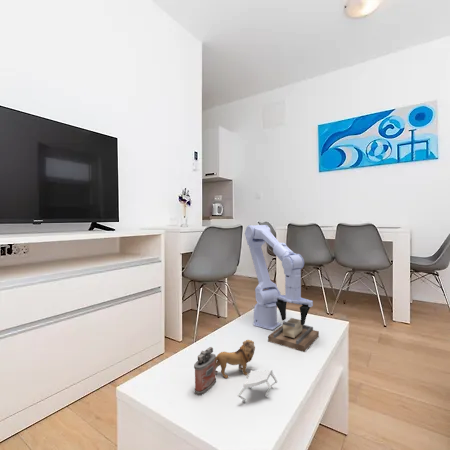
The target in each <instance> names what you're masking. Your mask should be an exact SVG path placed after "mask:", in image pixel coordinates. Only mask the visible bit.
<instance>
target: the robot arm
mask: <svg viewBox="0 0 450 450" xmlns="http://www.w3.org/2000/svg"><path fill="white" fill-rule="evenodd" d="M244 236H245V240H246V243H247V246H248V248H249V252H250V255H251V259H252V264H253V266H254V270H255V274H256V278H257V281H258V282H257V283H258V284H257V285H256V287H255V289H254V292H255V300H256V303H255V305H254V308H253V324H252V325H253V326H255V327H259V328H263V329H267V330H270V331H273V330H274V331H275V329H276V328H277V327H278V328H279V326H281V325H282V323H281V322H278V311H279V314H280V318H281V321H282V322H283V321H285V320H286V319H287V305H288V303H291V304H295V305H300V307H299V312H300V320H301V325H306V324H305V323H306V319H307V315H308V313H309V312H310V309H311V308H313V306H314V300H310V299H307V298H304V297H302V269H303V268H304V266H305V260H304V257H303V256H302V255H301V254H300V253H295V252H294V251H293V250H291V249H290V248H289V246H288V245H287V244H286V243H285V242H280V241H279V240H278V239H277V238H276V237H275V236H274V234H273V233H272V230H271V227H269V225H268V224H258V225H257V224H249V225H246V228H245V232H244ZM265 243H267V245H268V246H270V247H271V248H272V252H273V254H274V255H275V256H276V257H277V259H279V261H281V267H282V268H283V274H284V275H285V276H284V278H285V279H284V280H285V282H284V285H285V286H284V287H285V289H284V290H285V293H284V294H281V292H280V289H279V288H278V286H277V283H275V282H273V281H272V280H271V278H270V274H269V269H268V267H267V263H266V260H265V255H264V253H263V250H262V246H263V245H265Z"/></svg>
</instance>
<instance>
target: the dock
mask: <svg viewBox="0 0 450 450" xmlns="http://www.w3.org/2000/svg"><path fill="white" fill-rule="evenodd" d="M318 338H319V330H315V329H314V327H313V326H309V325H307V324H304V325H302V332H301V333H299V334H298V335H297V336H296V337H295V338H292V337H288V336H284V335H283V324H281V325H280V327H279V326H278V328H277V329H276V330H275V329H274V331H272V332H271V333H270V334H269V335H268V336H267V342H270V343H272V344H276V345H279V346H284V347H287V348H290V349H293V350H297V351H300V352H302V353H303V352H304V353H305V352H306V351H307V350H308V348H310V346H312V344H313V343H314V342H315V341H316V340H317V339H318Z"/></svg>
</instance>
